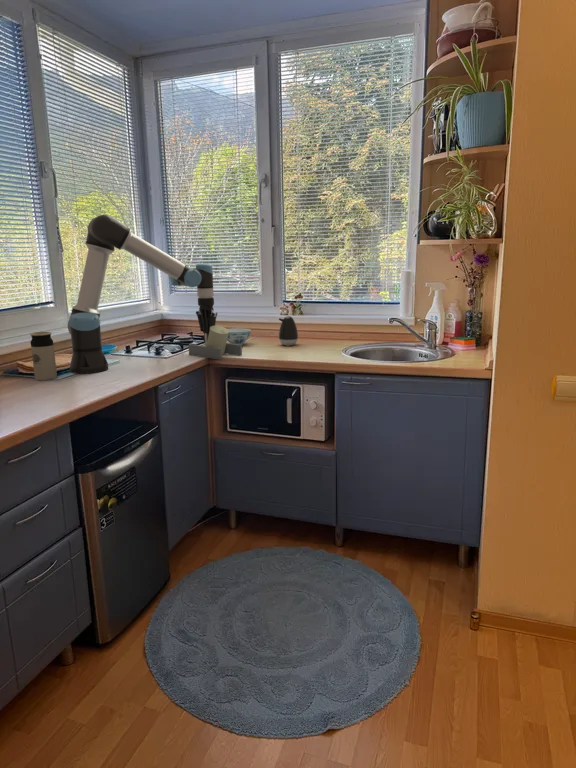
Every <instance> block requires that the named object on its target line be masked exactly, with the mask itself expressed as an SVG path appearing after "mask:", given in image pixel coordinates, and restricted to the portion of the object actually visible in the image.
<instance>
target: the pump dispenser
mask: <svg viewBox="0 0 576 768" xmlns="http://www.w3.org/2000/svg"><path fill="white" fill-rule="evenodd" d="M278 320H279V321H280V322H281V324H280V326H279V330H278V340H279V342H280V344H281V345H282V346H284V345H286V347H287V346H288V347H291V346H290V345H292V346H295V345H296V344H297V342H298V339H299V331H298V327H297V325H296V321H295V320H294V318H293V317H292V316H289V315H288V316H287V315H286V316H285V317H284V318H280V317H279V318H278Z"/></svg>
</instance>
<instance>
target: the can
mask: <svg viewBox="0 0 576 768" xmlns="http://www.w3.org/2000/svg"><path fill="white" fill-rule="evenodd" d="M228 329H229V328H226V327H224V326H221V325H215V326H211V327H210V331H209V336H208V341H207V345H206V347H213V348H219V349H221V356H223V355H225V353H224V351H225V346H226V343H228V341H227V338H228V334H229V330H228Z"/></svg>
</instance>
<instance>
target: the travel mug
mask: <svg viewBox="0 0 576 768" xmlns="http://www.w3.org/2000/svg"><path fill="white" fill-rule="evenodd" d="M30 336H31V341H30V350H31V356H32V365H33V371H34V372H33V373H34V379H35V380H37V381H42V382H43V381H51V380H54V379H56V378H58V373H57V363H56V356H55V347H54V346H55V345H54V340H53V339H52V337H51V336H52V332H51V331H35V332H31V333H30Z"/></svg>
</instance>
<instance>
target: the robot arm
mask: <svg viewBox="0 0 576 768" xmlns="http://www.w3.org/2000/svg"><path fill="white" fill-rule="evenodd" d="M85 246H86V247H87V255H86V259H85V264H84V269H83V274H82V278H81V279H82V280H81V284H80V288H79V291H78V292H79V293H78V297H77V301H76V302H77V303H76V304H74V305H73V306H72V307H71V313H70V316H69V318H68V321H67V330H68V333H69V334H70V338H71V339H70V341H71V347H72V355H71V360H70V363H69V371H70V373H73V374H81V375H82V374H85V375H86V374H95V373H100V372H104V371H105V372H106V371H107V370H109V363H108V361H107V359H106V356H105V354H104V350H103V344H102V341H103V340H102V334H101V320H100V317H101V312H100V310H99V305H100V299H101V295H102V290H103V285H104V280H105V277H106V271H107V266H108V262H109V258H110V255H111V254H113V253H114V252H115V248H116V249H117V250H120V251H121V250H124V251H125V252H128V253H129V254H131V255H133V256H135V257H137V258H138V259H140V260H142V261H143V262H145V263H146V264H148V265H151V266H152V267H154V268H156V270H157V269H158V270H159V271H161V272H162V273H164V274H166V275H168V276H169V277H170V278H169V279H170V283H171V285H172V286H174V287H177V286H178V287H183V286H184V287H189V288H196V294H197V297H198V298H197V305H198V307H199V308H198V310H196V311H195V314H196V316H197V320H198V321H197V322H198V326H199V328H200V330H199V331H200V332H203V338H204V346H206V345H207V341H208V336H209V331H210V327H211V326H216V321H217V316H218V312H215V311H214V308H213V307H214V305H215V299H214V295H215V294H214V273H213V265H212V264H210V263H197V264H195V268H191V267H189V266H188V265H186V264H185V263H183V262H181V261H180V260H178V259H176V258H174V257H173V256H171V255H169V254H168V253H167V252H164V251H163V250H161V249H160V248H158V247H157V246H154V245H153V244H152V243H149V242H148V241H147V240H144V239H143V238H141V237H140V236H138V235H136V234H135V233H134V232H133V231H132V229H131V228H129V227H128V226H126V225H125V224H123V223H122V222H120V221H119V220H117V219H116V217H115V218H114V216H111V215H109V214H100V215H98V216H96V217H94V218H92V219H91V220H90V222H89V223H88V225H87V237H86V240H85Z"/></svg>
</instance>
